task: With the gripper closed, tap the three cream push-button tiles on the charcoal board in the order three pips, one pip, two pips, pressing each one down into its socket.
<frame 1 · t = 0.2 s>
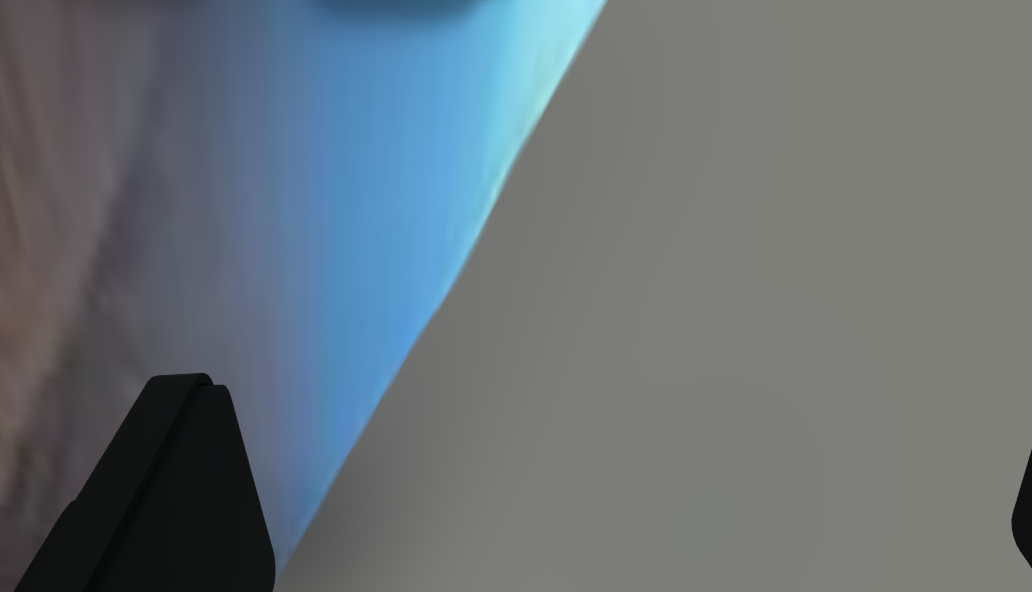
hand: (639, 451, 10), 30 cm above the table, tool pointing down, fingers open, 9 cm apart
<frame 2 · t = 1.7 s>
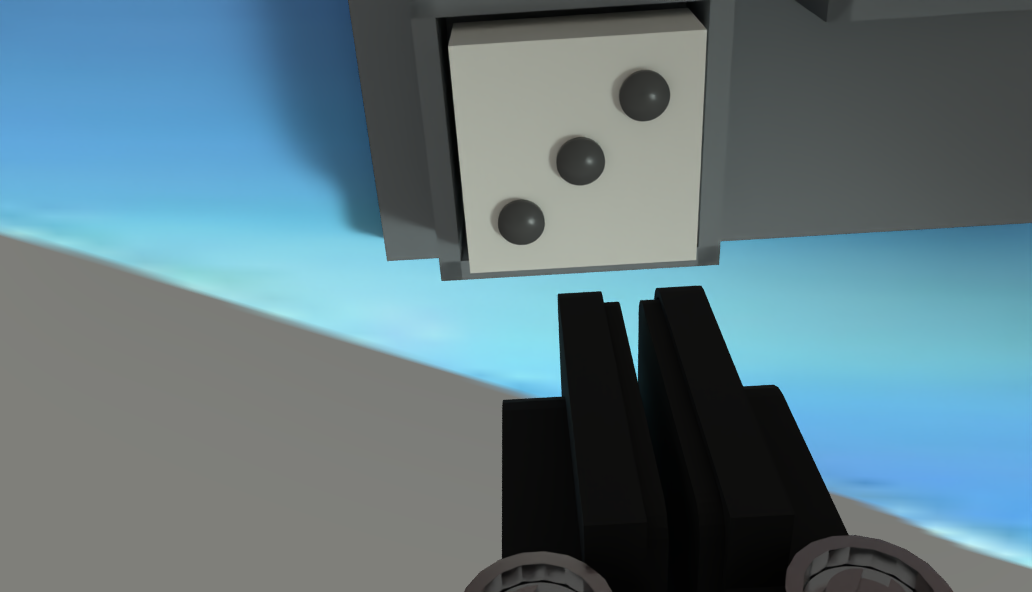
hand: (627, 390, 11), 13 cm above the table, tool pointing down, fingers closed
button three: (577, 144, 19), point 4 cm above the table, slide at 0.0 cm
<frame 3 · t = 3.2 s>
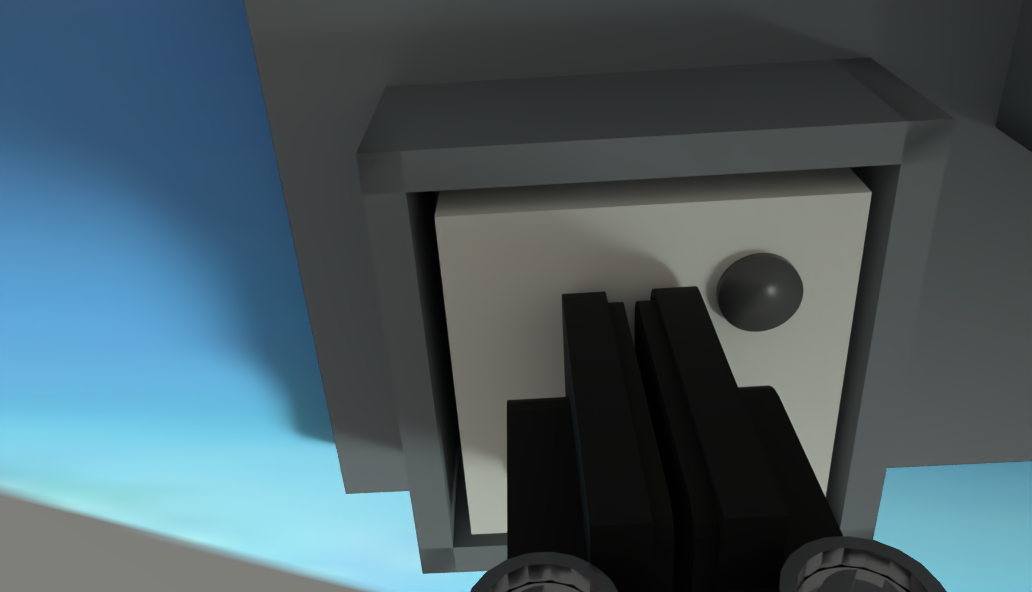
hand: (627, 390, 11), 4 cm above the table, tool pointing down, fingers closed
button three: (639, 344, 12), point 3 cm above the table, slide at 1.2 cm, touching gripper
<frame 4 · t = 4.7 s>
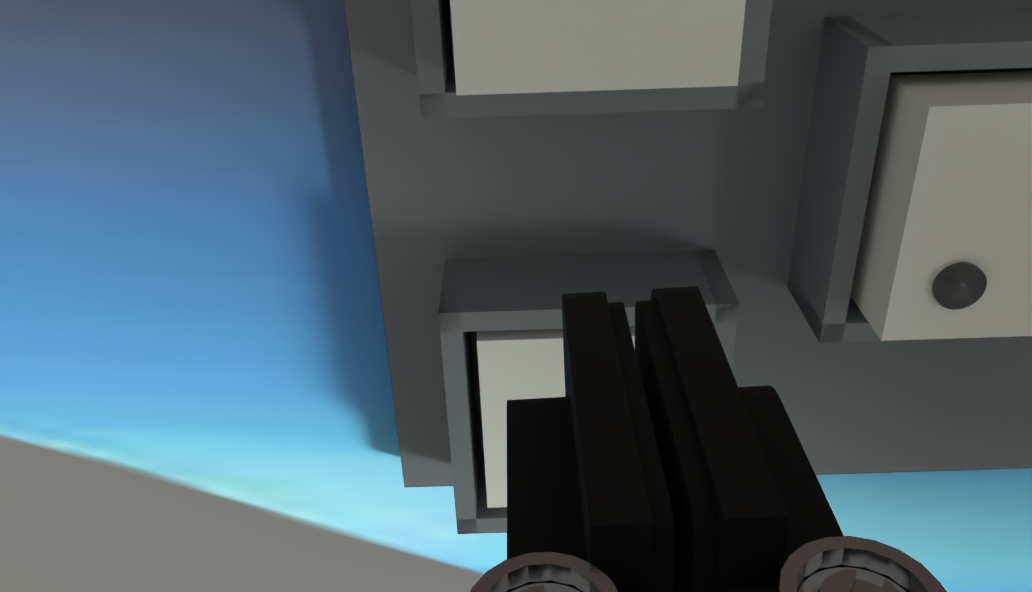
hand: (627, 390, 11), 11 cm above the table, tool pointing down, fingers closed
button two: (1009, 208, 18), point 4 cm above the table, slide at 0.0 cm
button three: (584, 402, 22), point 3 cm above the table, slide at 1.3 cm
button board: (740, 146, 21), on the table
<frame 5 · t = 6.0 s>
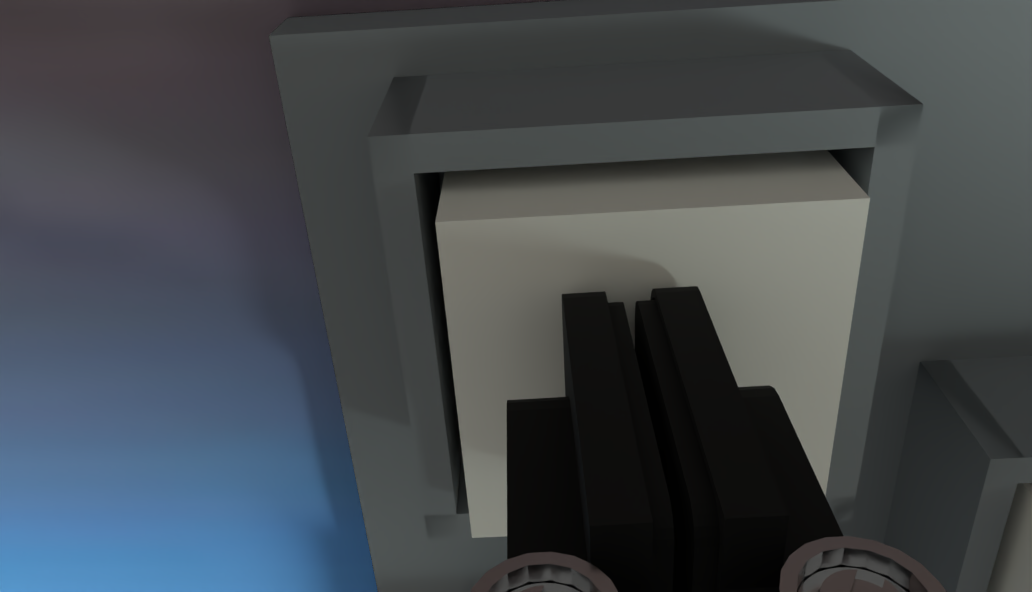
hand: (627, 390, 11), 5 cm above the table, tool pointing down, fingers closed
button board: (810, 465, 18), on the table
button one: (639, 348, 12), point 4 cm above the table, slide at 0.4 cm, touching gripper
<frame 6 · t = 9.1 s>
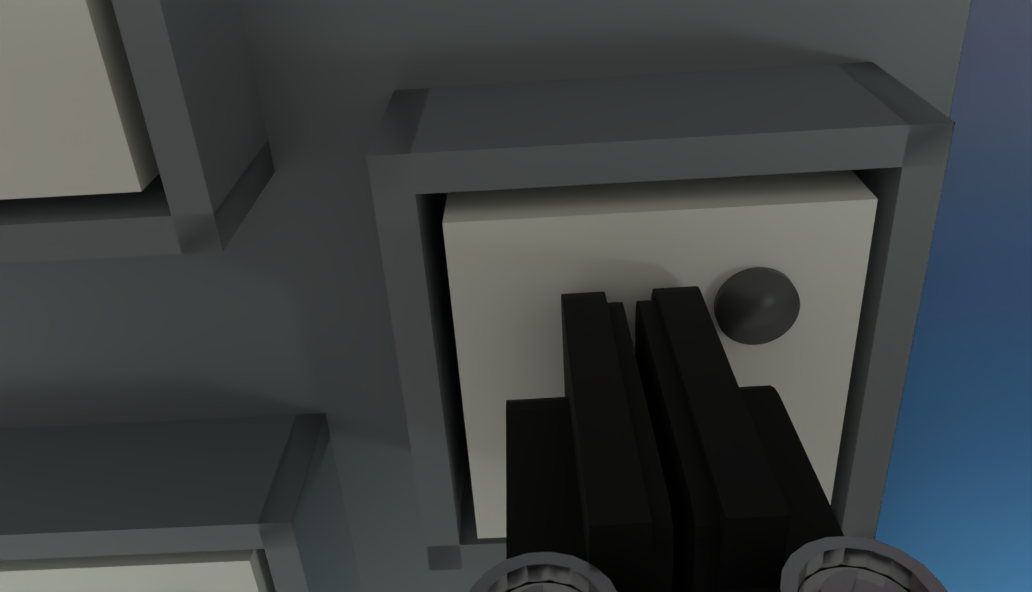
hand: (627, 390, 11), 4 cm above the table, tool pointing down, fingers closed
button two: (645, 349, 12), point 3 cm above the table, slide at 1.0 cm, touching gripper
button board: (357, 264, 15), on the table
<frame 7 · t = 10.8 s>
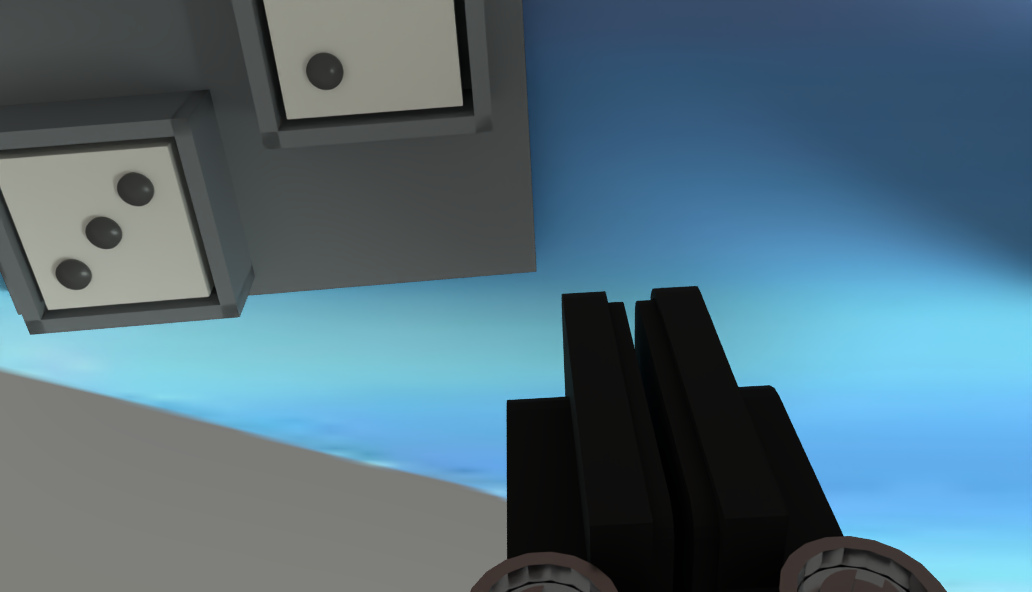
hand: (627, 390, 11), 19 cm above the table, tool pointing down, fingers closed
button two: (365, 15, 24), point 3 cm above the table, slide at 1.3 cm
button three: (115, 218, 27), point 3 cm above the table, slide at 1.3 cm
button board: (224, 5, 27), on the table
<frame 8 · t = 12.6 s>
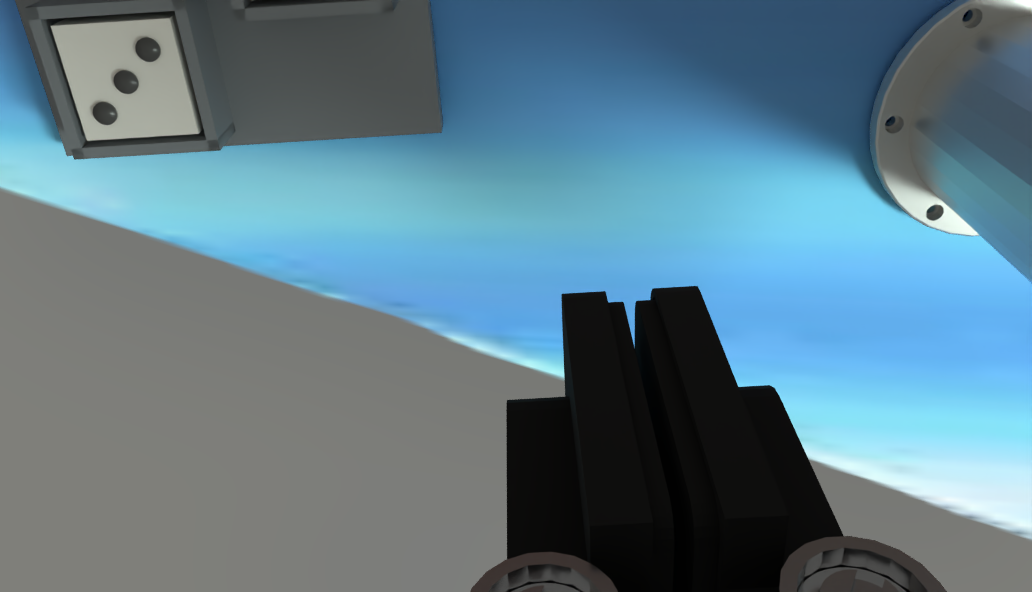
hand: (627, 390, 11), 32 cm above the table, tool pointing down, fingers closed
button three: (134, 75, 38), point 3 cm above the table, slide at 1.3 cm
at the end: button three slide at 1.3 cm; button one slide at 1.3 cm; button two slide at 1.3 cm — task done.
